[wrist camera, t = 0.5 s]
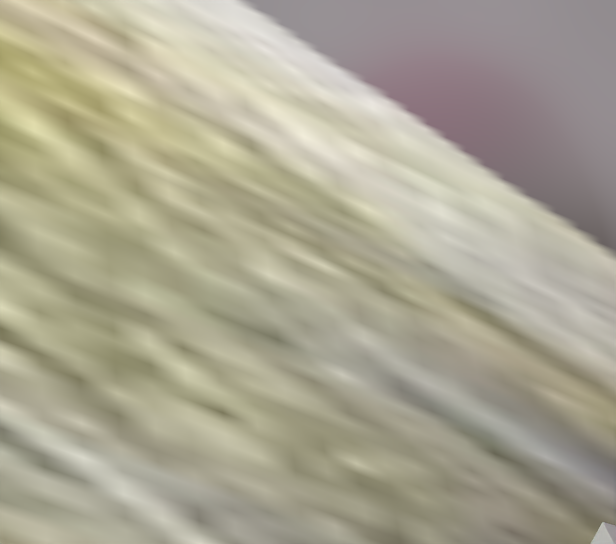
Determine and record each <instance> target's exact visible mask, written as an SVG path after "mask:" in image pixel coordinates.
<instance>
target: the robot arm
mask: <svg viewBox="0 0 616 544" xmlns="http://www.w3.org/2000/svg"><path fill="white" fill-rule="evenodd" d="M591 544H616V525H612V524H609V523H605V522H602V524H601V526H600V527H599V529H598V531H597V533H596V535H595V537H594V538H593V540H592V542H591Z"/></svg>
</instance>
